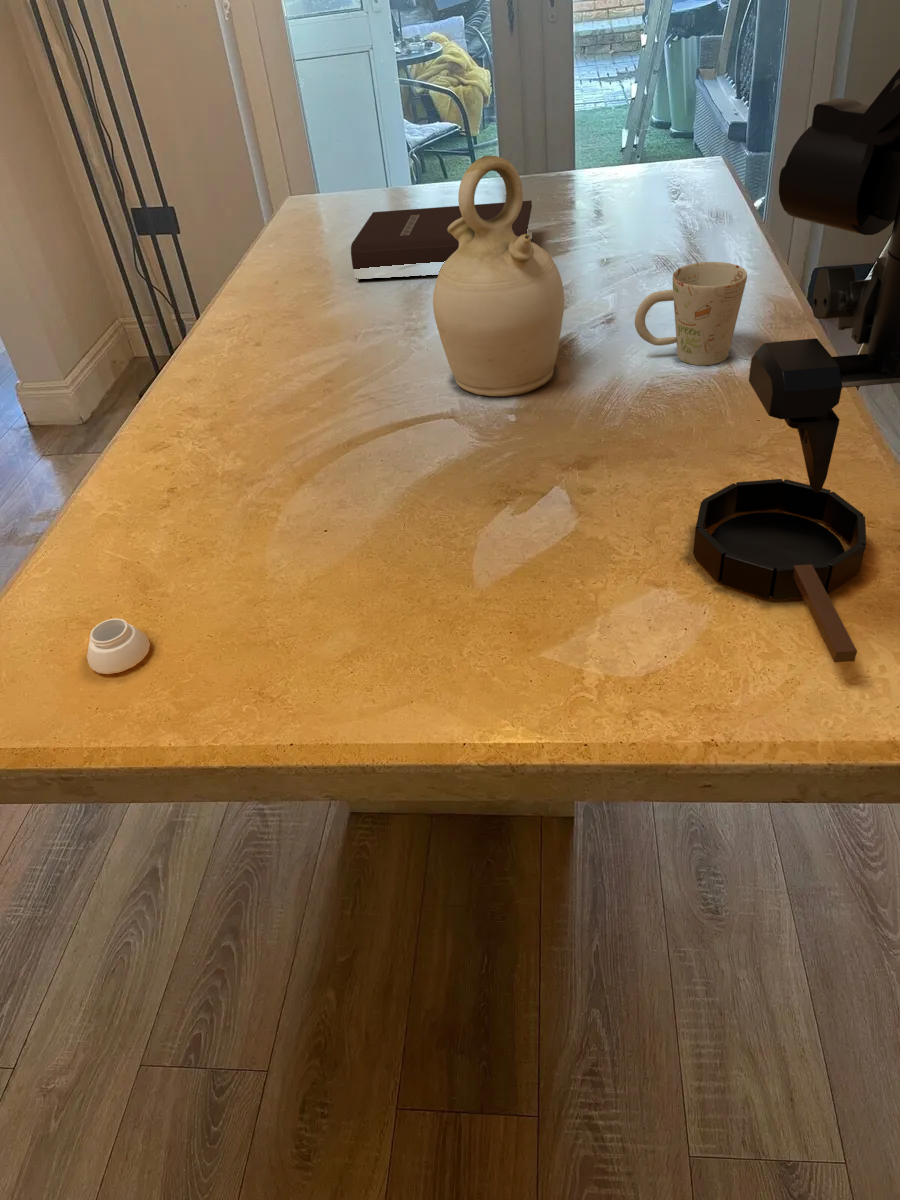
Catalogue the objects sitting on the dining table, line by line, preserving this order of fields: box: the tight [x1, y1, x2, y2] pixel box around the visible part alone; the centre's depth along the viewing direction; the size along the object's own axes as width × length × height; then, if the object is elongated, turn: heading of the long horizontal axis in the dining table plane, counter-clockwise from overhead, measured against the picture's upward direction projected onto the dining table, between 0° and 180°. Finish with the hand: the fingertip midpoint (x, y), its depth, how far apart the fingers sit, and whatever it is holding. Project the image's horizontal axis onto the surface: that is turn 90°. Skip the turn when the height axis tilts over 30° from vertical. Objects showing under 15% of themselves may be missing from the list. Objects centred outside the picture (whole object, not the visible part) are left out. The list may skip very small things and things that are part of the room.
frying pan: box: [692, 478, 867, 663], centre depth 68 cm, size 23×14×4 cm, turn 179°
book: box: [350, 200, 533, 270], centre depth 142 cm, size 28×20×6 cm
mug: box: [634, 261, 748, 366], centre depth 102 cm, size 8×13×10 cm, turn 89°
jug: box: [432, 155, 565, 397], centre depth 98 cm, size 15×16×25 cm
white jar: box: [86, 617, 151, 675], centre depth 70 cm, size 5×3×5 cm
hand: (883, 484), depth 58 cm, fingers open, 9 cm apart
